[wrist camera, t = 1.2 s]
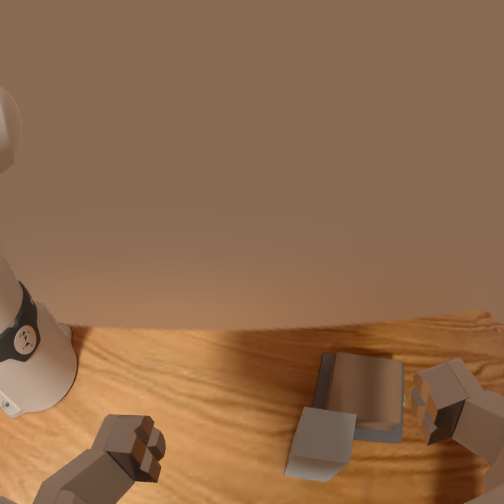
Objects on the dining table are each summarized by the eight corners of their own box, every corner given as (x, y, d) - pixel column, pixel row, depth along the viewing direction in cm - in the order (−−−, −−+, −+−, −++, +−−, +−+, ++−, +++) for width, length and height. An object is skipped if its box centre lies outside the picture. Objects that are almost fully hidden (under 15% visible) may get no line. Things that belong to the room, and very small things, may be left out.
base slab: (322, 422, 34) (326, 414, 32) (332, 363, 41) (336, 351, 39) (391, 431, 32) (400, 422, 30) (394, 372, 39) (401, 360, 37)
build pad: (307, 432, 33) (307, 431, 33) (322, 354, 42) (323, 352, 42) (400, 443, 31) (401, 442, 31) (402, 365, 40) (403, 364, 39)
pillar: (283, 475, 29) (292, 455, 23) (293, 437, 33) (304, 406, 27) (326, 481, 28) (349, 463, 22) (334, 444, 32) (356, 414, 26)
